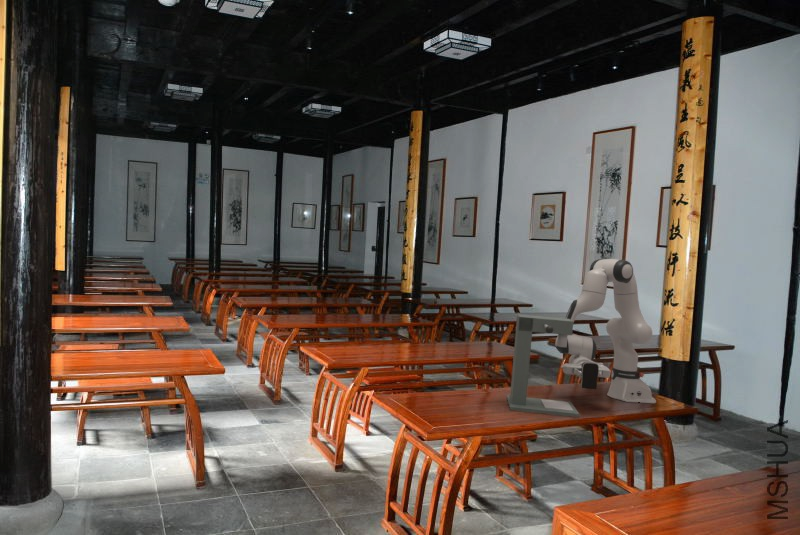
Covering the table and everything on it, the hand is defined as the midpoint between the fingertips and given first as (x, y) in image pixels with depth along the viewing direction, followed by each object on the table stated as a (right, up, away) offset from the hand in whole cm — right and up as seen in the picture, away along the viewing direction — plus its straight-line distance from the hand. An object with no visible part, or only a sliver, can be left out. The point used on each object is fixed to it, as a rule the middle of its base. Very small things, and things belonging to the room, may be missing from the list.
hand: (589, 374), depth 258 cm
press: (-21, -16, 0) cm, 26 cm away
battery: (-1, -6, +1) cm, 7 cm away
